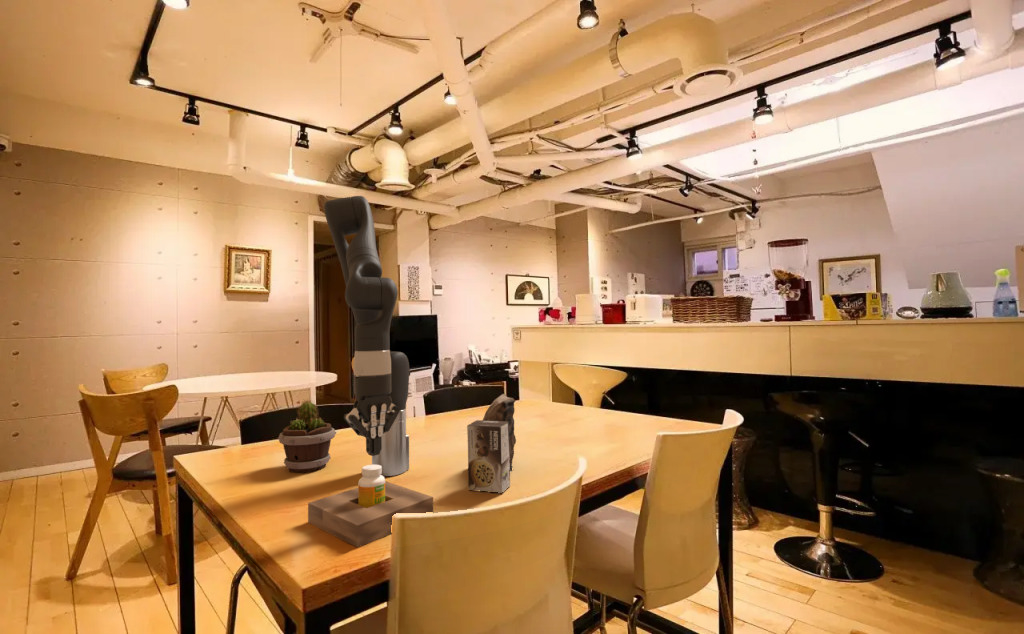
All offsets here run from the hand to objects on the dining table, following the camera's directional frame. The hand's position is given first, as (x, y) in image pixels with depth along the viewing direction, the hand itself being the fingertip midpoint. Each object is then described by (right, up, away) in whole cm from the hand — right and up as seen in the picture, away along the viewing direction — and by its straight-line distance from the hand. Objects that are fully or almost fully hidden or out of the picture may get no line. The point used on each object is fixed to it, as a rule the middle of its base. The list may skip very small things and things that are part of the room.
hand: (373, 454), depth 98 cm
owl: (+24, -14, +35) cm, 45 cm away
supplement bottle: (0, -13, 0) cm, 13 cm away
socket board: (0, -13, 0) cm, 13 cm away
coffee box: (+23, -14, +18) cm, 32 cm away
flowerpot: (-30, -15, +36) cm, 49 cm away
